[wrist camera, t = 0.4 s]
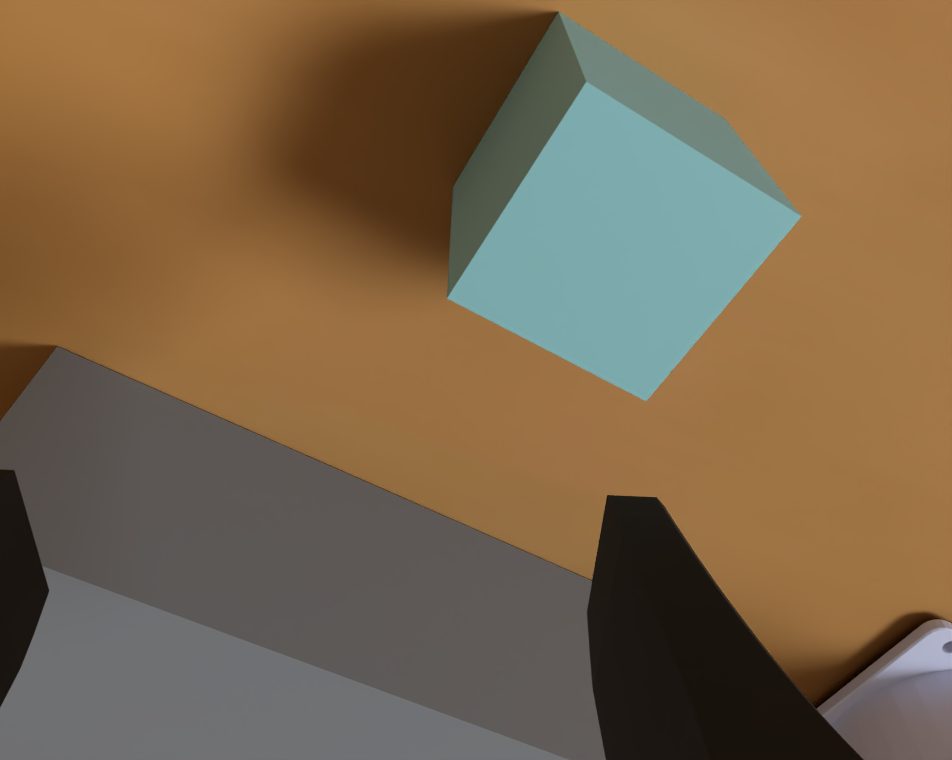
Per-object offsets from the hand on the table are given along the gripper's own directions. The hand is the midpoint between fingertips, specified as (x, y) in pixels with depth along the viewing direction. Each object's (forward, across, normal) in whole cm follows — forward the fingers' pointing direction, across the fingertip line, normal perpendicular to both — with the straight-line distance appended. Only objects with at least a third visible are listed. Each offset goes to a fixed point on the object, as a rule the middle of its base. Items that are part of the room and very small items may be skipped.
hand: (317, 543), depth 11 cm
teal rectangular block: (+10, -4, -2) cm, 11 cm away
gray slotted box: (+10, +5, +15) cm, 18 cm away
